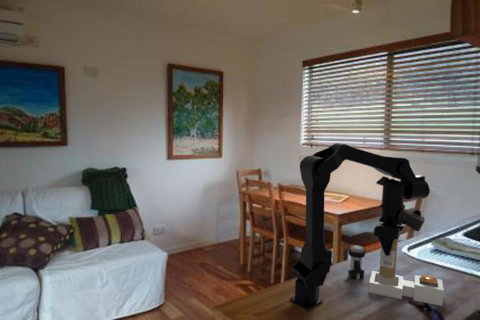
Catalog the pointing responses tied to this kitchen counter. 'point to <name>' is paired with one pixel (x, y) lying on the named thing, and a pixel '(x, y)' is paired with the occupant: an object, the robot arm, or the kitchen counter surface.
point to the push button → (356, 262)
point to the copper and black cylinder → (428, 280)
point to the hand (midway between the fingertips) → (388, 252)
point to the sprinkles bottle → (388, 262)
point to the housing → (406, 288)
